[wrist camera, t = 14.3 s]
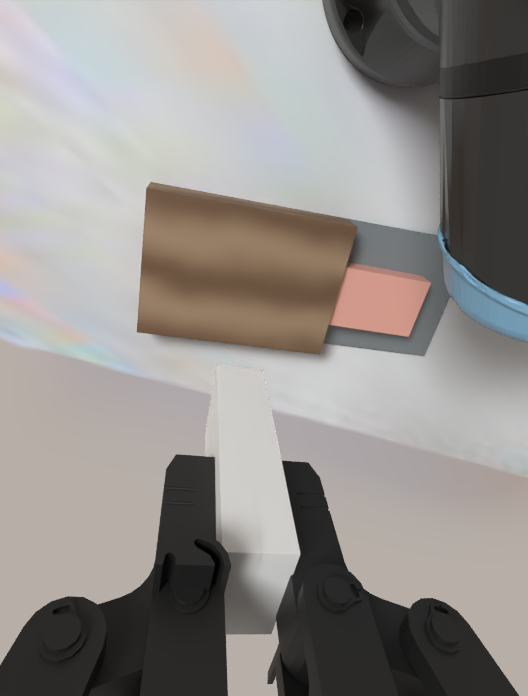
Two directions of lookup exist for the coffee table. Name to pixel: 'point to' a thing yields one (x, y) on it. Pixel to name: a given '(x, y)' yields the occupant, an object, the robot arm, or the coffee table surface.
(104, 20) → the coffee table surface
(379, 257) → the mat
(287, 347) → the brown flat block
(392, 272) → the pink rectangular block
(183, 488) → the robot arm
